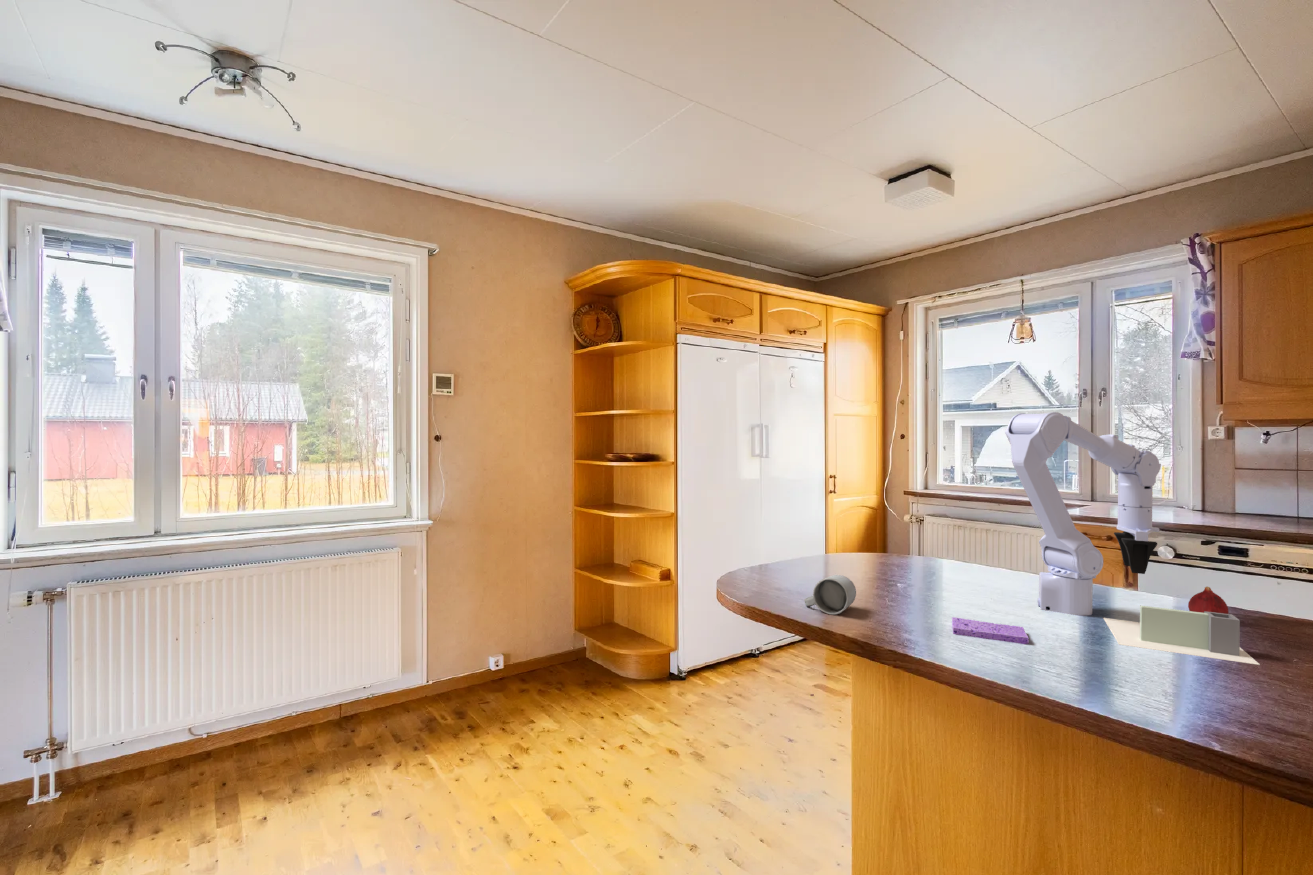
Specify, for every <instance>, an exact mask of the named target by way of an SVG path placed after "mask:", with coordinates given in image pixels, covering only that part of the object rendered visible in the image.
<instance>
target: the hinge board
mask: <svg viewBox="0 0 1313 875" xmlns="http://www.w3.org/2000/svg"><path fill="white" fill-rule="evenodd" d="M1102 619H1103V620H1104V621H1105V622H1104V623H1106V625H1107V627H1108V629H1109V630H1110V632H1111V633H1112V635H1113V636H1114V638H1115V641H1116V642H1117V644H1118V645H1120V646H1126V647H1132V648H1138V649H1148V650H1153V651H1161V652H1169V653H1173V654H1174V653H1176V654H1180V655H1181V654H1182V655H1189V656H1195V657H1203V658H1210V659H1215V660H1223V661H1229V662H1230V661H1231V662H1237V663H1244V664H1251V665H1258V666H1261V664H1260V663H1259V662H1258V661H1256V659H1254V658H1253V657H1252V656H1251V655H1250V654H1248V652H1246V651H1245V650H1244V649H1243V648H1241V647H1240V652H1239V656H1235V655H1228V654H1221V653H1213V652H1210V651H1209V650H1206V649H1199V648H1192V647H1185V646H1177V645H1170V644H1163V643H1156V642H1149V641H1142V640H1141V639H1140V621H1131V620H1125V619H1116V618H1108V617H1102Z"/></svg>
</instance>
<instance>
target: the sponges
mask: <svg viewBox="0 0 1313 875" xmlns="http://www.w3.org/2000/svg"><path fill="white" fill-rule="evenodd" d="M951 628H952V634H953V635H956V636H957V635H959V636H965V637H972V638H979V639H985V640H987V639H988V640H992V641H993V640H994V641H1000V642H1007V643H1013V644H1021V645H1028V644H1029V642H1030V640H1029V636H1028V634H1027V633H1026V631H1025V628H1024V627H1023V626H1019V625H1009V624H1001V623H1000V624H999V623H994V622H988V621H979V620H975V619H969V618H967V619H965V618H961V617H954V616H952V617H951Z"/></svg>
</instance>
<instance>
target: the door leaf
mask: <svg viewBox="0 0 1313 875" xmlns="http://www.w3.org/2000/svg"><path fill="white" fill-rule="evenodd" d="M1139 622H1140V639H1141V640H1142V641H1149V642H1156V643H1163V644H1170V645H1177V646H1185V647H1192V648H1199V649H1206V650H1209V651H1210V652H1213V653H1221V654H1228V655H1235V656H1239V652H1240V648H1241V646H1240V645H1241V644H1240V642H1241V640H1240V638H1241V636H1240V635H1241V634H1240V632H1241V620H1240V619H1239V618H1237V617H1236V616H1235V615H1233V614H1232V613H1231V614H1230V613H1228V614H1223V613H1215V612H1206V611H1204V613H1201V612H1192V611H1189V610H1182V609H1174V608H1165V607H1156V606H1148V605H1140V606H1139Z"/></svg>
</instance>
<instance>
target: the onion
mask: <svg viewBox="0 0 1313 875" xmlns="http://www.w3.org/2000/svg"><path fill="white" fill-rule="evenodd" d="M1187 605H1188V606H1187V607H1188V611H1192V612H1201V613H1204V611H1206V612H1215V613H1223V614H1230V613H1229V607H1228V604H1227V603H1226V601H1225V600H1224V599H1223V598H1222V597H1221V595H1220V596H1219V595H1218V594H1217V593H1215V592H1214V591H1213V590H1212V588H1211V587H1210V586H1205V587H1204V590H1203V591H1200V592H1198V593H1196V594H1194V595H1193V596H1191V598H1190V599H1189V601H1188V604H1187Z"/></svg>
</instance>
